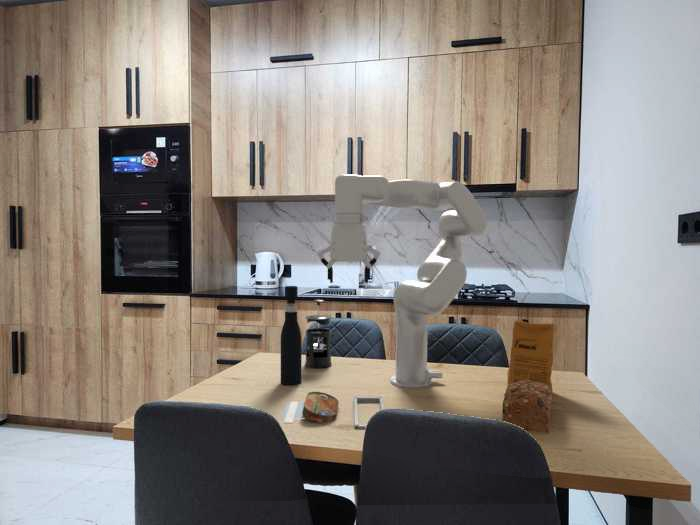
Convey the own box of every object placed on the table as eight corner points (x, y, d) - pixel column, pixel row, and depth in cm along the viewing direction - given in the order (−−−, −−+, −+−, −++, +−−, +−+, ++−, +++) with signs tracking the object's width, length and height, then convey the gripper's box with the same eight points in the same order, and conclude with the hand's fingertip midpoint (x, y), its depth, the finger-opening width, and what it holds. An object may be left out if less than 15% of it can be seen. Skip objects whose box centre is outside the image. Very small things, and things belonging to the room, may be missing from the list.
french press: (320, 369, 161) (321, 302, 160) (298, 365, 166) (298, 300, 165) (339, 361, 171) (339, 298, 170) (317, 358, 176) (317, 296, 175)
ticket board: (317, 407, 126) (317, 401, 126) (313, 428, 112) (313, 422, 112) (287, 406, 126) (287, 401, 126) (279, 428, 112) (279, 422, 112)
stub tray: (382, 405, 128) (382, 397, 128) (387, 435, 109) (388, 426, 108) (353, 404, 128) (353, 396, 128) (354, 435, 109) (354, 426, 108)
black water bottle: (291, 388, 142) (291, 288, 140) (276, 383, 146) (276, 286, 144) (305, 382, 147) (306, 286, 145) (290, 378, 151) (291, 284, 149)
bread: (549, 445, 105) (550, 401, 104) (499, 436, 109) (500, 393, 109) (552, 416, 122) (553, 378, 121) (508, 409, 126) (509, 372, 125)
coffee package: (511, 389, 142) (513, 316, 141) (555, 397, 136) (558, 321, 134) (502, 399, 134) (504, 321, 133) (549, 407, 127) (552, 326, 126)
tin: (335, 418, 112) (301, 407, 112) (331, 431, 112) (297, 419, 112) (340, 397, 127) (310, 386, 127) (336, 408, 127) (306, 397, 127)
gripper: (378, 220, 134) (378, 280, 136) (317, 220, 134) (318, 281, 135) (381, 220, 127) (381, 283, 128) (316, 220, 126) (317, 284, 128)
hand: (348, 282), depth 132 cm, fingers open, 9 cm apart
